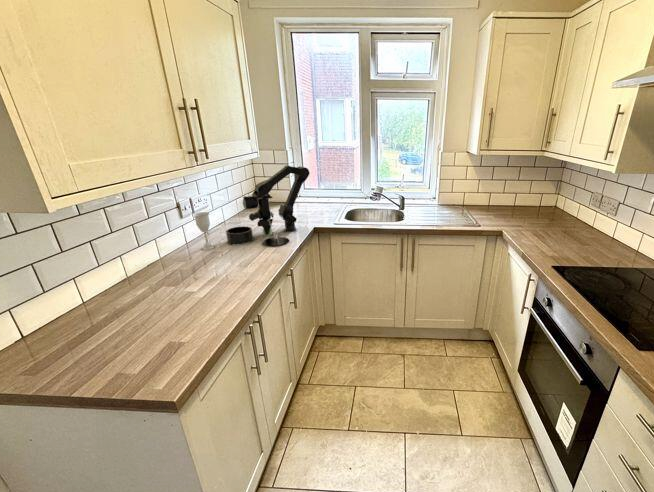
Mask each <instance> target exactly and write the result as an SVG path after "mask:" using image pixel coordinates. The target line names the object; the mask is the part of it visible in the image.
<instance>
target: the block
mask: <svg viewBox="0 0 654 492" xmlns="http://www.w3.org/2000/svg"><path fill="white" fill-rule="evenodd" d="M272 230H273V229H272V226H271V227H270V230H269V234H268V235H266V233H265V231H264V228H263V229H262V231H263V232H262V233H263V236H264V237H265V236H272V235H273V231H272Z"/></svg>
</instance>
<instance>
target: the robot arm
mask: <svg viewBox="0 0 654 492" xmlns="http://www.w3.org/2000/svg"><path fill="white" fill-rule="evenodd" d="M290 174H293V175H294V181H293V183H292V186H291V188H290V191H289V193H288V195H287V198H286V201H285V203H284V204H280V205H279V208H278V216H279V217H280V218H281V219H282V220H283V222H284V233H292V232H296V231H297V227H296V222H297V220H298V218H297V217H295V216H294V206H295V203H296V201H297V198H298V195H299V193H300V192H301V191H300V190H301V188H302V185H303V184H304V183H305V182H306V181H307V179H308V178H309V177H310V170H309V168H307V167H305V166H302V165H301V166H297V167H296V166H292V165H288V164H286V165H284V167H283V168H281V169H280V170H279V171H277V172H275V173H274V174H273V175H272V176H271V177H269V178H268V179H266V180H263V181H260V182H258V183H256V185H254V186H255V187H254V191H252V194H251V195H248V196H246V195H245V196H243V197H242V205H243V208H244V210H245V211H247V210H253V209H257V208H258V210H257V211H254V212H252V213H249V215H248V219H249V220H250V221H251V222H254V221H255V220H257V219H258V221H257V227H262V228H263V229H264V231H265V233H266V235H265V236H269V235H268V234H269V230H270V227H271V228H272V225H273V221H274V218H275V215H274V213H273V212H272V211H271V209H272V207H271V206H270V199H273V196H272V195H271V194H270V192H271V191H272V189H273V188H274V187H275V185H277V184H278V183H280V182H281V181H282V180H284V179H285V178H286V177H287V176H289V175H290Z"/></svg>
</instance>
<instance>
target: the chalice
mask: <svg viewBox="0 0 654 492" xmlns="http://www.w3.org/2000/svg"><path fill="white" fill-rule="evenodd" d="M192 216H193V217H194V220H195V225H196V227H197V228H198V230H200V232H201V233H203V237H204V241H205V243H204V244H203V247H202V250H203V251H209V250H213V249H214V248H215V246H213V244H212V243H211V242H209V238H208V234H207V232H208V231H209V228H210V225H211V221H210V212H209V211H199V212H196V213H193V214H192Z"/></svg>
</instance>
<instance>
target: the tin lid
mask: <svg viewBox="0 0 654 492" xmlns="http://www.w3.org/2000/svg"><path fill="white" fill-rule="evenodd" d="M289 242H290V239H289V237H285V236H278V231H272V237H269V238H266V239H264V240H262V245H263V246H264V247H269V248H275V247H276V248H277V247H282V246H285V245H287V244H289Z"/></svg>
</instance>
